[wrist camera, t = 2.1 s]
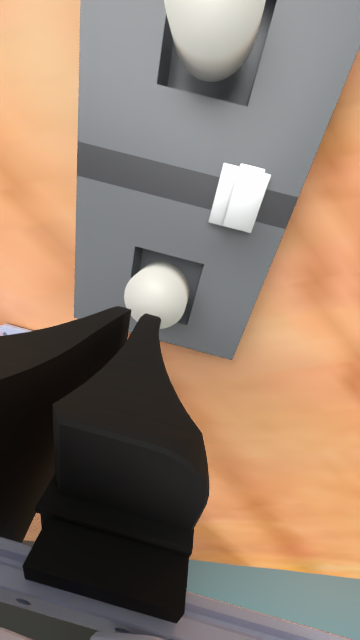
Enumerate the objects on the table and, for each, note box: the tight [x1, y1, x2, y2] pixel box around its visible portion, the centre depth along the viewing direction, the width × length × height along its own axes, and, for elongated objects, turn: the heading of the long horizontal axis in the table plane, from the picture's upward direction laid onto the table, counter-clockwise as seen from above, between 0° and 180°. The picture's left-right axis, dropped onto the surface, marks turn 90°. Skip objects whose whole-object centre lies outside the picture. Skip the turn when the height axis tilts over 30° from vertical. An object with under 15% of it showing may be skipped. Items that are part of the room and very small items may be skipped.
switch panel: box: [74, 0, 360, 360], centre depth 14 cm, size 20×12×2 cm, turn 167°
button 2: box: [164, 0, 266, 82], centre depth 9 cm, size 4×4×2 cm
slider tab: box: [208, 163, 271, 233], centre depth 11 cm, size 3×2×3 cm
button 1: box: [124, 262, 190, 329], centre depth 15 cm, size 4×4×2 cm
